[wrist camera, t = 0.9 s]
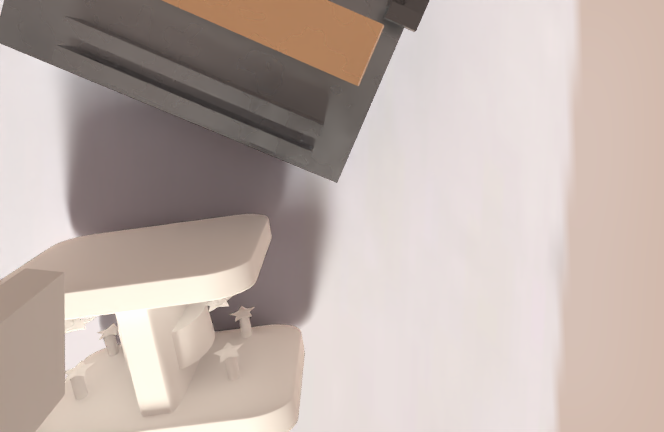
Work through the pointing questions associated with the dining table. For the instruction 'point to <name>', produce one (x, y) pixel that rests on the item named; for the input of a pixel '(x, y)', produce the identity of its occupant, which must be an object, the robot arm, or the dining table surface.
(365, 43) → the strap
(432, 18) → the dining table surface
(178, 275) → the cable organizer
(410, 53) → the dining table surface
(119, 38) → the grey stepped block
